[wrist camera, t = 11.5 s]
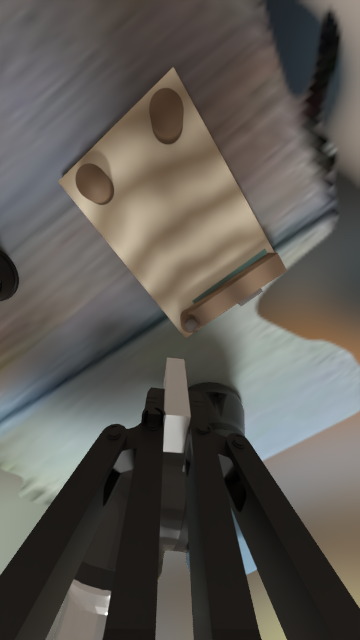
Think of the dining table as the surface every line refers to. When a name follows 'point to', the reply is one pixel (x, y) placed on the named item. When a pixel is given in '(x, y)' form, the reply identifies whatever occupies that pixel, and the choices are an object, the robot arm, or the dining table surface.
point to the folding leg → (232, 292)
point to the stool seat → (168, 201)
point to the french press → (7, 277)
